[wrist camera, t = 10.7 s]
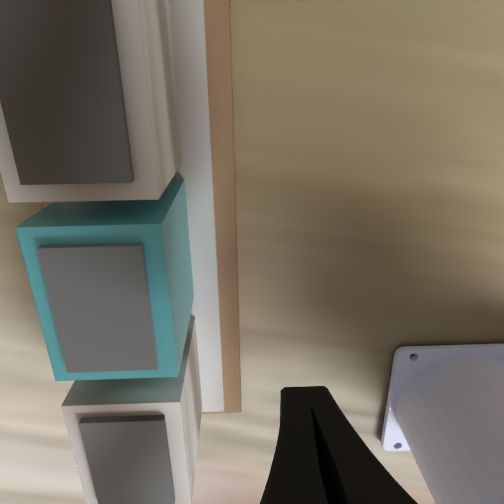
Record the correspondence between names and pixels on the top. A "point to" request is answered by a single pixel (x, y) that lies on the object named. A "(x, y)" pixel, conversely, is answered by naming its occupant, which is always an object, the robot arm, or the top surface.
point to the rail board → (133, 188)
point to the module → (112, 284)
